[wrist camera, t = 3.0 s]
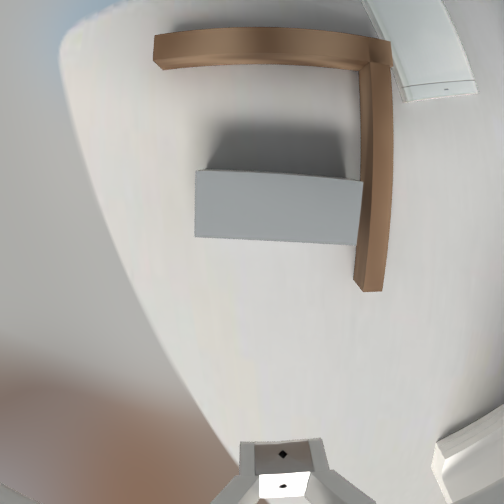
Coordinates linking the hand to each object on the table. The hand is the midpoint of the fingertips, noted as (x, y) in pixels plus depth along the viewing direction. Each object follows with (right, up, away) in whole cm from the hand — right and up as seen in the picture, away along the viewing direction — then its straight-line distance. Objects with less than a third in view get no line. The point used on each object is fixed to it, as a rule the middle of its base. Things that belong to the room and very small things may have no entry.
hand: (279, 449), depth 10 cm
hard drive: (+12, +26, +8) cm, 30 cm away
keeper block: (+1, +11, +12) cm, 16 cm away
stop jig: (+1, +14, +11) cm, 18 cm away
